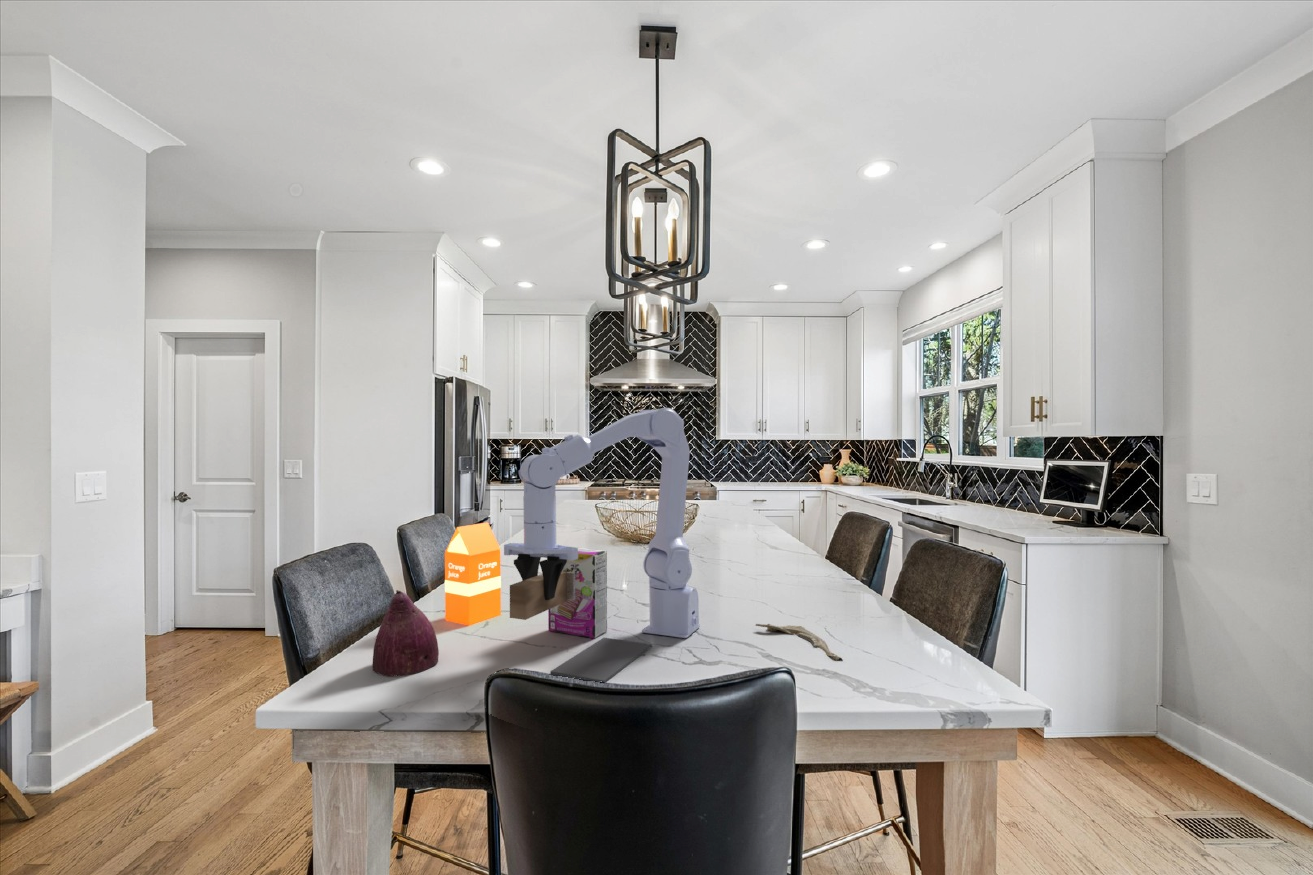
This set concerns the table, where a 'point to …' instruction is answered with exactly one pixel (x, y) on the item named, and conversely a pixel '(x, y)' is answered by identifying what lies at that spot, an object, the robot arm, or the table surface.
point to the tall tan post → (539, 595)
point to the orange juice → (472, 575)
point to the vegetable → (404, 640)
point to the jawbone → (805, 635)
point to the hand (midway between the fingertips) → (540, 597)
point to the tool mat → (602, 659)
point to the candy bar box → (584, 597)
